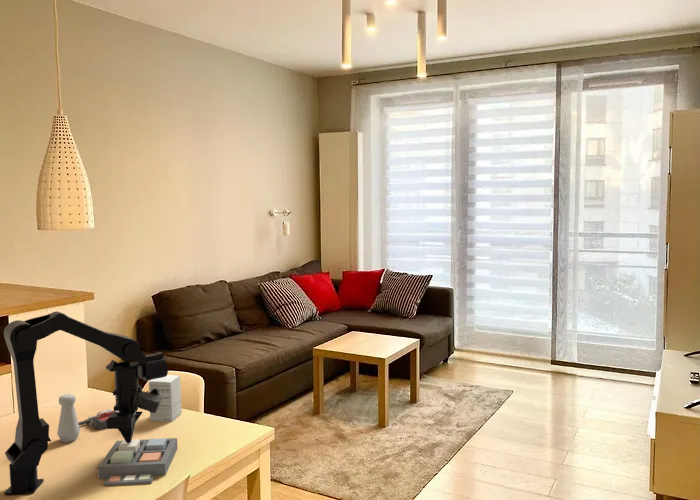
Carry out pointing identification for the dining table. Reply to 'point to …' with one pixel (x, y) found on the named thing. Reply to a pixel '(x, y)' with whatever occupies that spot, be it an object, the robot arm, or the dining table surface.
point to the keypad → (136, 465)
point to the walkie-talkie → (98, 419)
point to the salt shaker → (68, 419)
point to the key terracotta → (150, 457)
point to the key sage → (122, 457)
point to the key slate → (156, 444)
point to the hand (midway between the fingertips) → (129, 442)
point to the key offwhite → (129, 445)
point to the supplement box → (167, 398)
